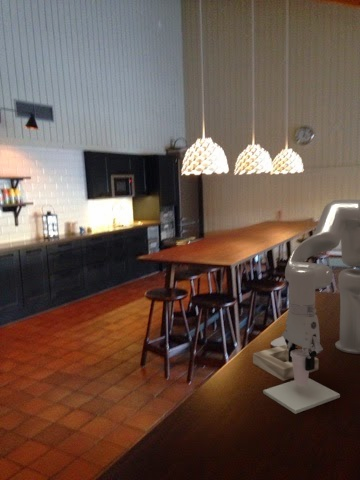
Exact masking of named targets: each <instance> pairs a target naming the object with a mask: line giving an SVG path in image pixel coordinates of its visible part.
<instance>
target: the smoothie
mask: <svg viewBox="0 0 360 480" xmlns="http://www.w3.org/2000/svg"><path fill="white" fill-rule="evenodd" d="M310 353H311V351H310ZM290 356H291V357H292V364H293V372H294V378H293V379H294V380H295V384H296V385H299V386H306V385H307V383H308V378H309V376H310V375H309V374H310V373H309V371H306V370H305V358H307V355H306V351H305V348H303V347H301V348H297V349H295V350H292V351H291V354H290Z"/></svg>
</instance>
